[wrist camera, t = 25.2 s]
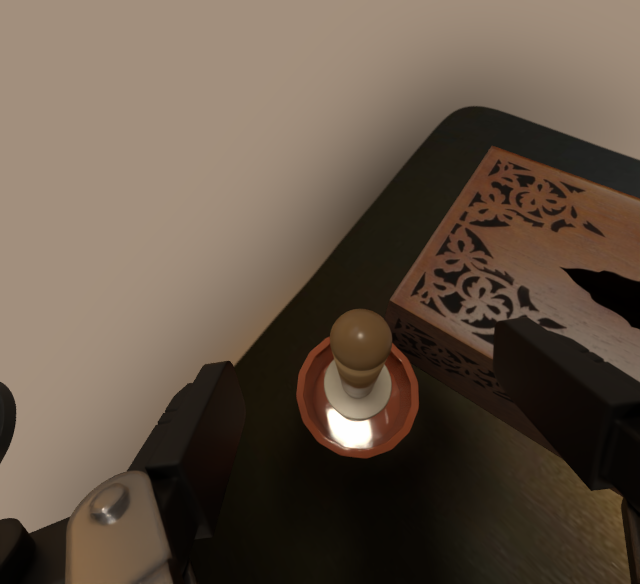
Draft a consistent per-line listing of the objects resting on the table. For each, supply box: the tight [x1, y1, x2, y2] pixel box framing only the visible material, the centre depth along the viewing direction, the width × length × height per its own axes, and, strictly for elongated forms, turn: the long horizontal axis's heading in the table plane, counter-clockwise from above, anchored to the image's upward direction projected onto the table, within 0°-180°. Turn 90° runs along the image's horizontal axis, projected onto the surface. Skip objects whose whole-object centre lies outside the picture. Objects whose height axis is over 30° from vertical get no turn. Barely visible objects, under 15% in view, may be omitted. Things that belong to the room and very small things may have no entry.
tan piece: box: [324, 309, 392, 421], centre depth 17 cm, size 4×4×18 cm
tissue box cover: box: [384, 146, 640, 496], centre depth 21 cm, size 26×14×10 cm, turn 54°
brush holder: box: [296, 337, 419, 459], centre depth 23 cm, size 8×8×6 cm
